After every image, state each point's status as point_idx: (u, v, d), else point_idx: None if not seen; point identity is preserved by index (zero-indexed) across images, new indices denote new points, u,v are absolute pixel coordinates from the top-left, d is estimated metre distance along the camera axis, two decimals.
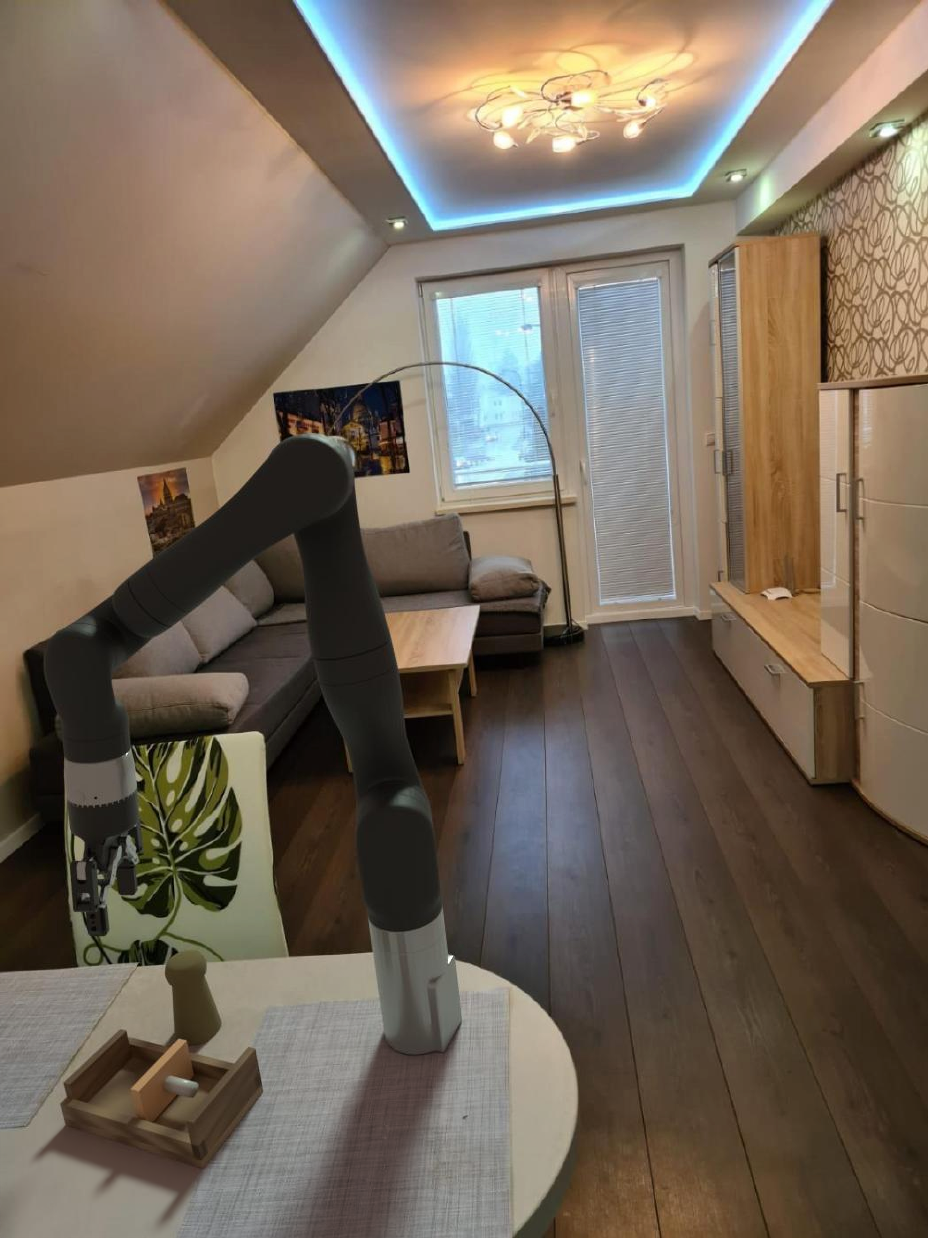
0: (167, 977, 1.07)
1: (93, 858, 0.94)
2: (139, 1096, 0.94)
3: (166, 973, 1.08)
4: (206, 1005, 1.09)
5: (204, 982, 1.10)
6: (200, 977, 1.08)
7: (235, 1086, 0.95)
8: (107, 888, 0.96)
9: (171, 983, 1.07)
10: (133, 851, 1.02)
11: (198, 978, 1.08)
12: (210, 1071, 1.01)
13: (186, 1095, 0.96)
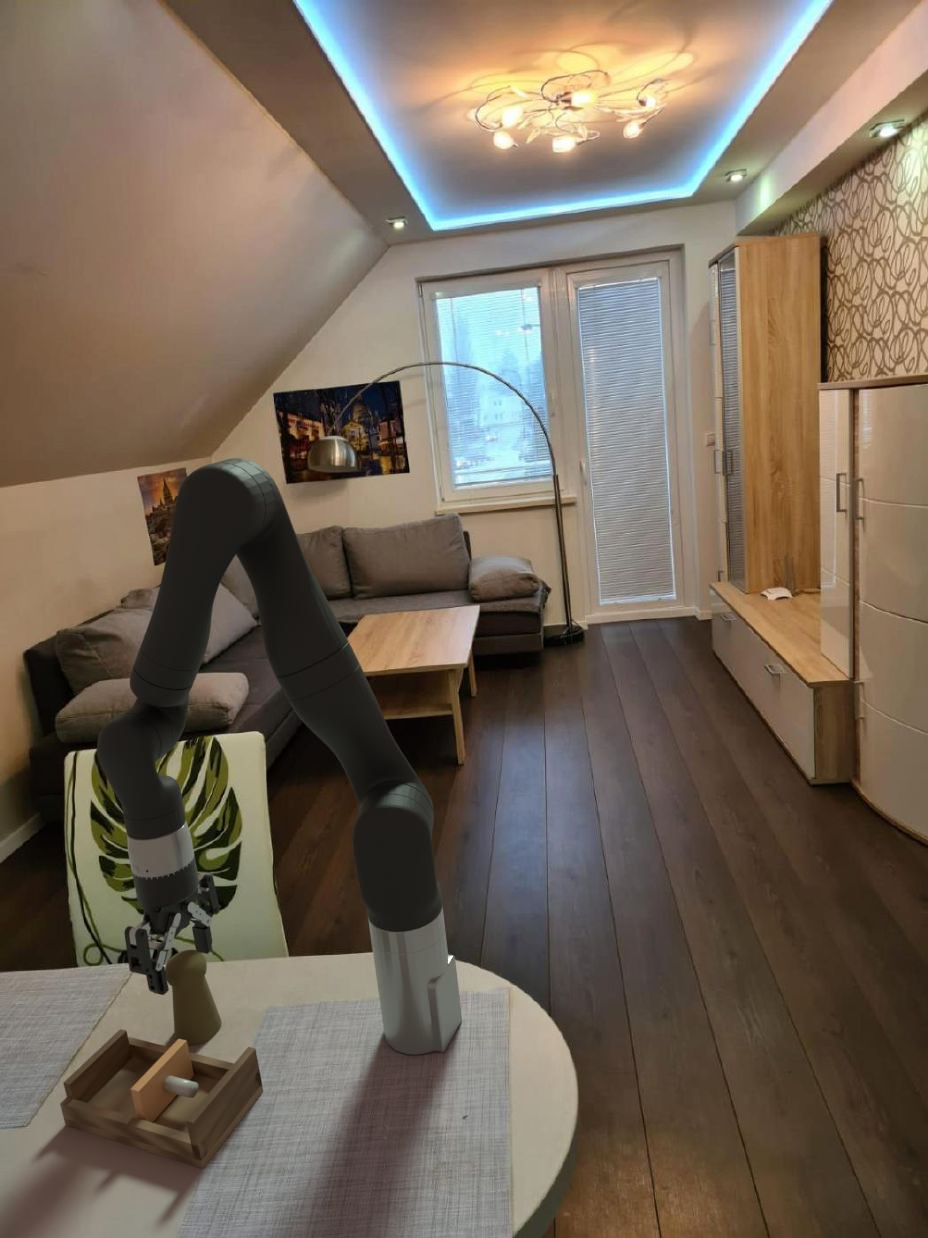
0: (167, 977, 1.07)
1: (147, 925, 1.03)
2: (139, 1096, 0.94)
3: (166, 973, 1.08)
4: (206, 1005, 1.09)
5: (204, 982, 1.10)
6: (200, 977, 1.08)
7: (235, 1086, 0.95)
8: (164, 952, 1.04)
9: (171, 983, 1.07)
10: (201, 915, 1.10)
11: (198, 978, 1.08)
12: (210, 1071, 1.01)
13: (186, 1095, 0.96)
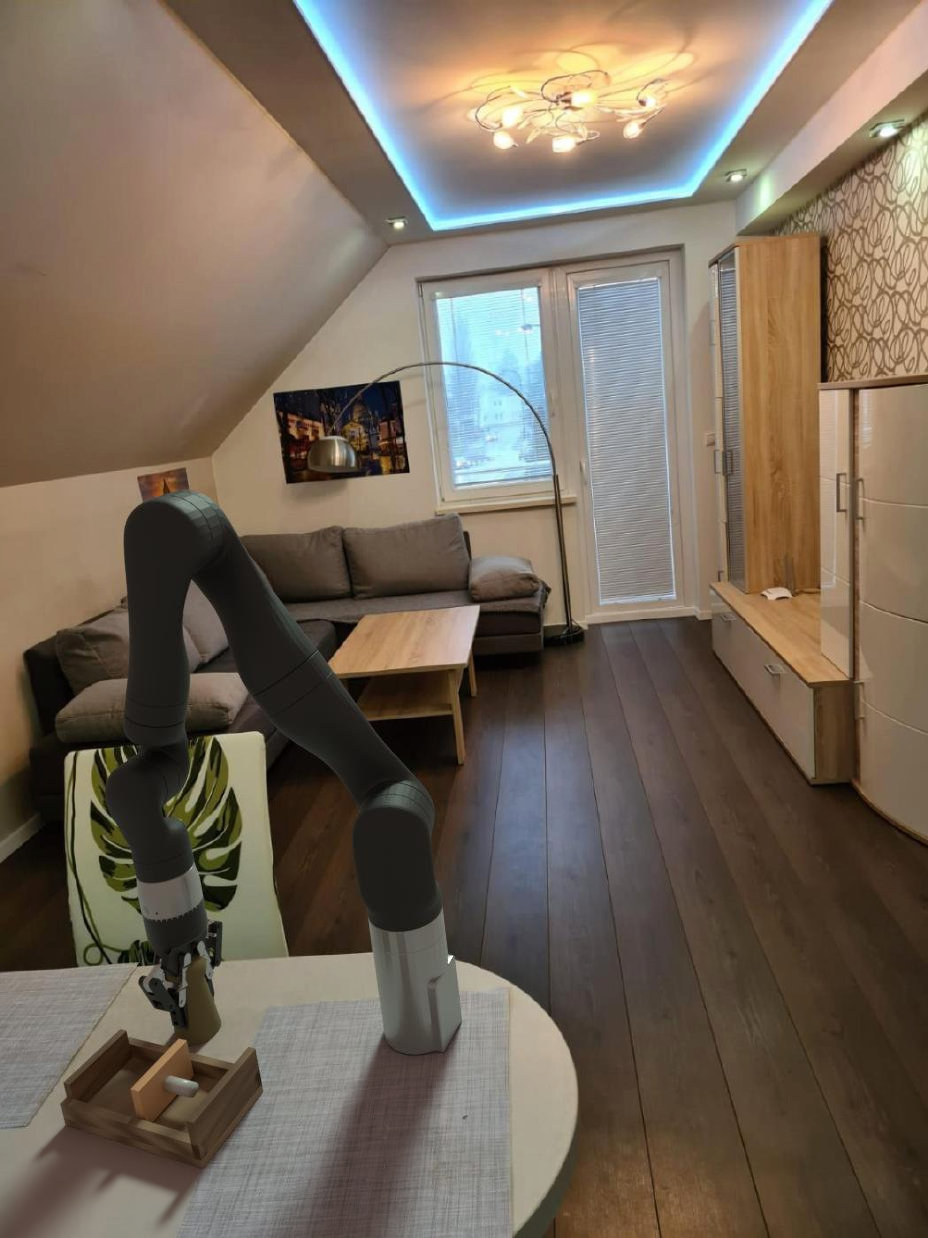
0: (167, 977, 1.07)
1: (159, 971, 1.04)
2: (139, 1096, 0.94)
3: None
4: (206, 1005, 1.09)
5: (204, 982, 1.10)
6: (200, 977, 1.08)
7: (235, 1086, 0.95)
8: (183, 989, 1.07)
9: None
10: (206, 961, 1.10)
11: (198, 978, 1.08)
12: (210, 1071, 1.01)
13: (186, 1095, 0.96)
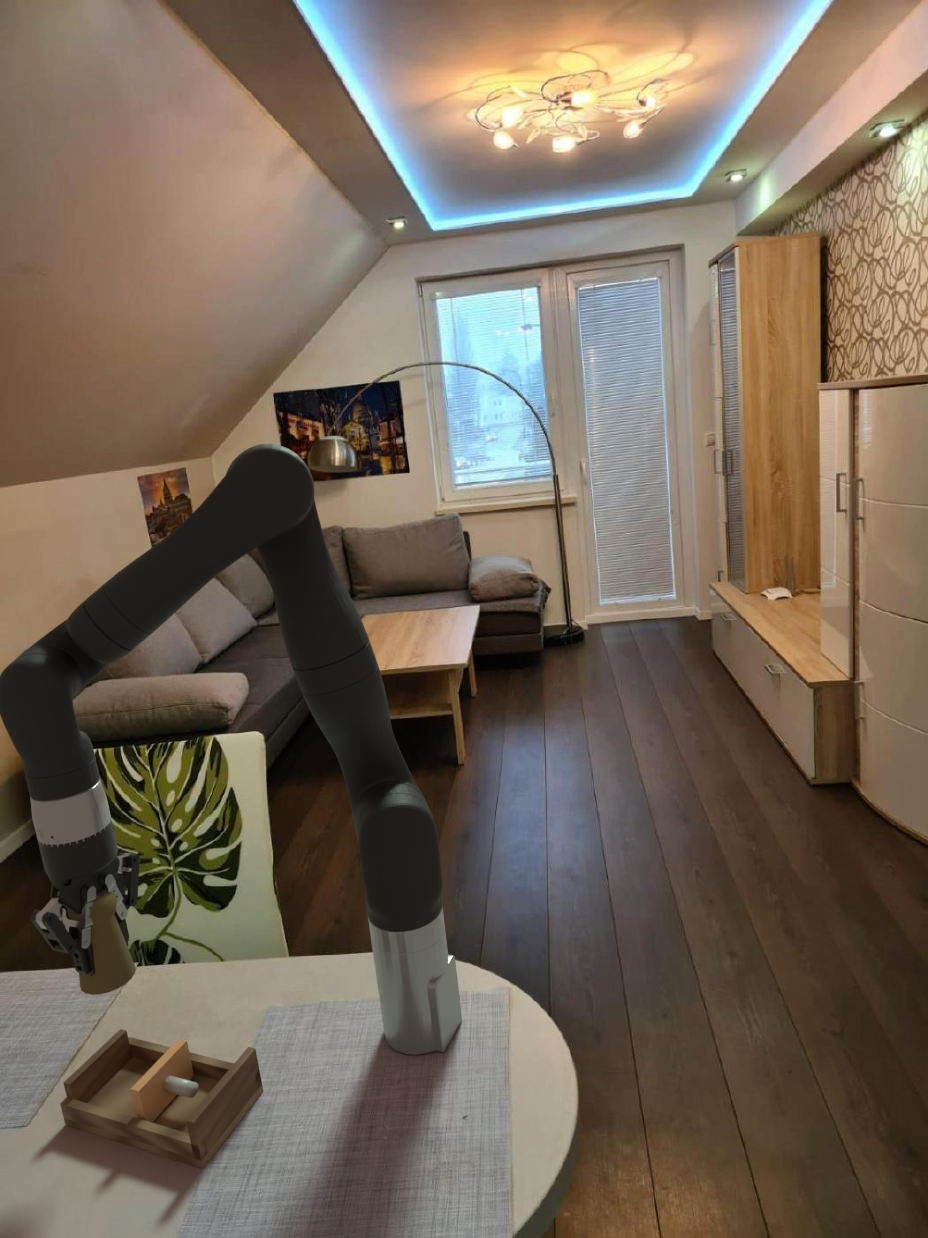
0: (68, 914, 0.93)
1: (55, 905, 0.90)
2: (139, 1096, 0.94)
3: None
4: (115, 948, 0.95)
5: (113, 922, 0.95)
6: (107, 915, 0.93)
7: (235, 1086, 0.95)
8: (87, 928, 0.92)
9: None
10: (117, 898, 0.96)
11: (105, 916, 0.93)
12: (210, 1071, 1.01)
13: (186, 1095, 0.96)
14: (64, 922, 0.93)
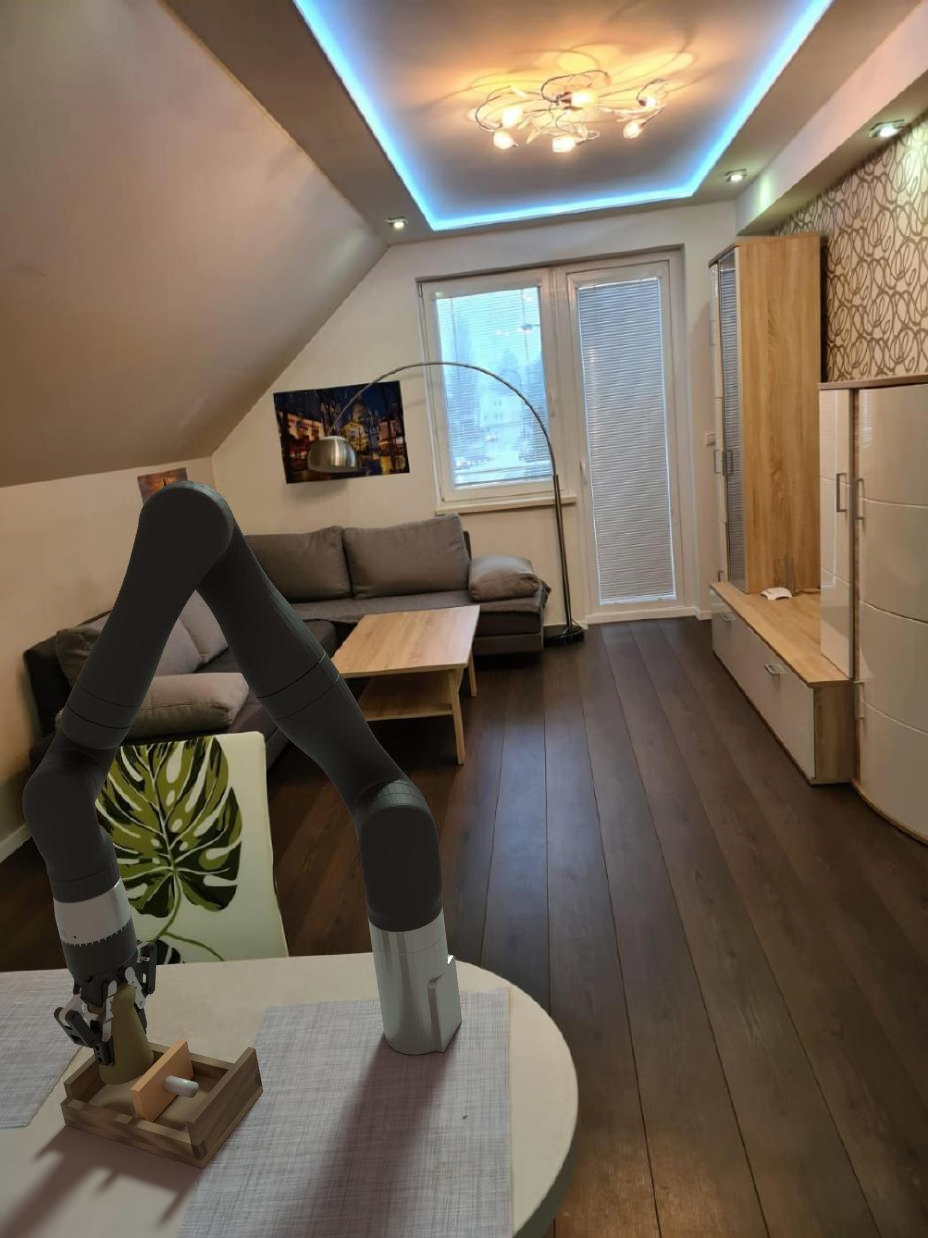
0: (89, 1008, 0.95)
1: (78, 1002, 0.92)
2: (139, 1096, 0.94)
3: None
4: (134, 1039, 0.97)
5: (132, 1013, 0.98)
6: (127, 1007, 0.96)
7: (235, 1086, 0.95)
8: (108, 1021, 0.95)
9: None
10: (136, 989, 0.98)
11: (125, 1009, 0.96)
12: (210, 1071, 1.01)
13: (186, 1095, 0.96)
14: (85, 1015, 0.95)
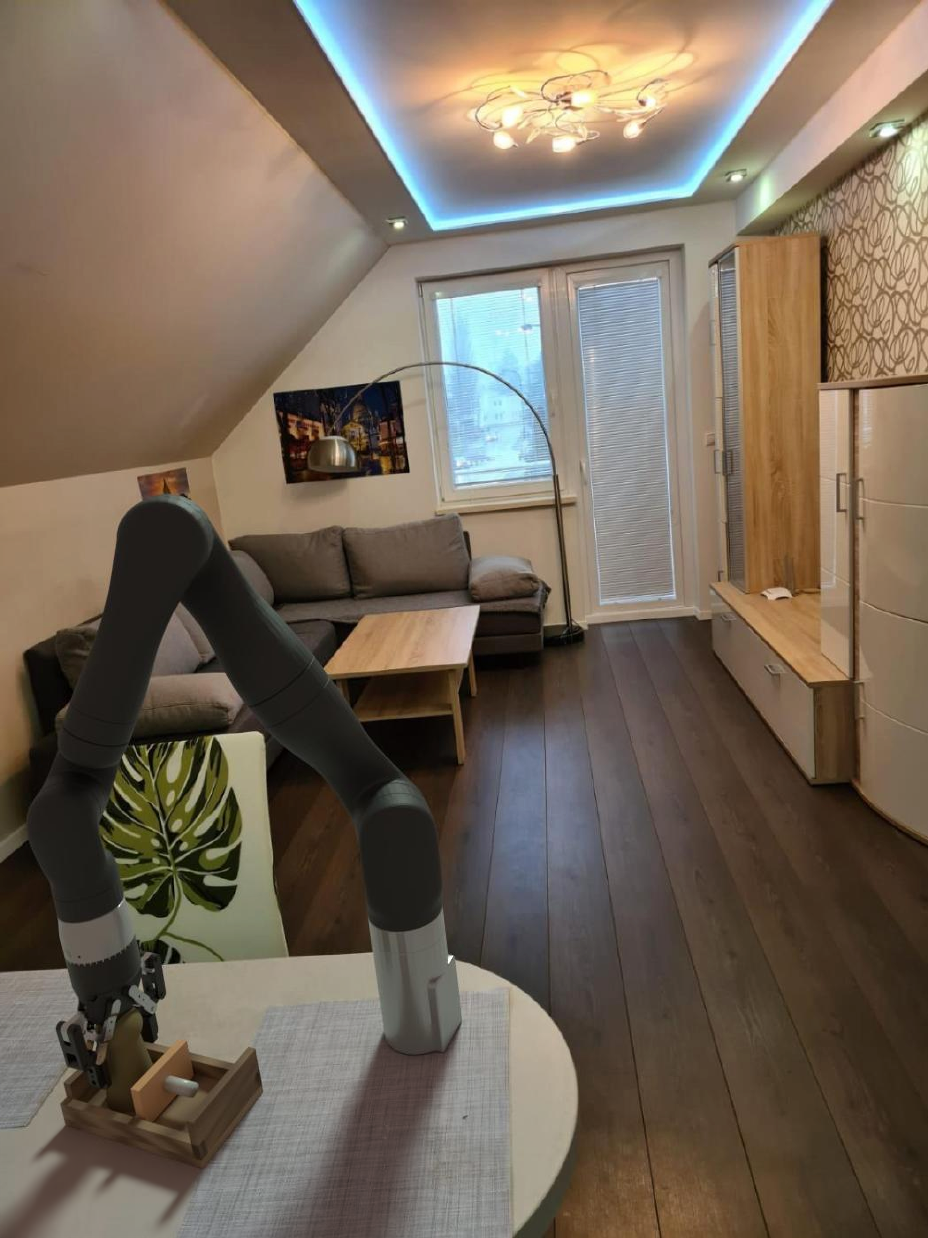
0: None
1: (81, 1018, 0.93)
2: (139, 1096, 0.94)
3: None
4: (141, 1068, 0.98)
5: (139, 1042, 0.98)
6: (134, 1037, 0.97)
7: (235, 1086, 0.95)
8: (104, 1043, 0.95)
9: None
10: (144, 1001, 1.00)
11: (132, 1039, 0.97)
12: (210, 1071, 1.01)
13: (186, 1095, 0.96)
14: (83, 1035, 0.95)
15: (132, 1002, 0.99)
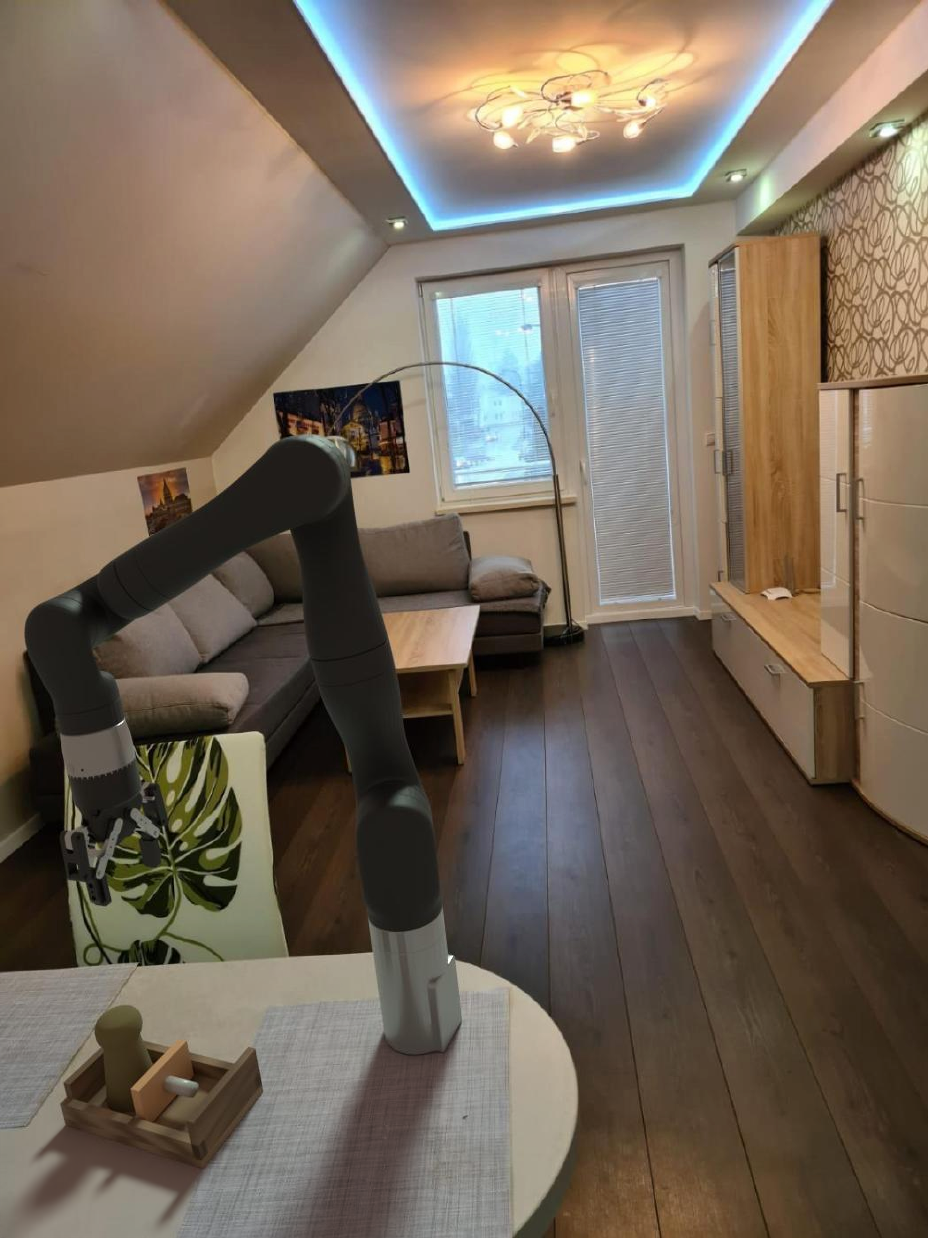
0: (96, 1037, 0.96)
1: (85, 829, 0.95)
2: (139, 1096, 0.94)
3: (95, 1032, 0.96)
4: (141, 1068, 0.98)
5: (139, 1042, 0.98)
6: (133, 1037, 0.97)
7: (235, 1086, 0.95)
8: (105, 859, 0.97)
9: (100, 1044, 0.96)
10: (146, 824, 1.02)
11: (132, 1039, 0.97)
12: (210, 1071, 1.01)
13: (186, 1095, 0.96)
14: None
15: (135, 825, 1.01)
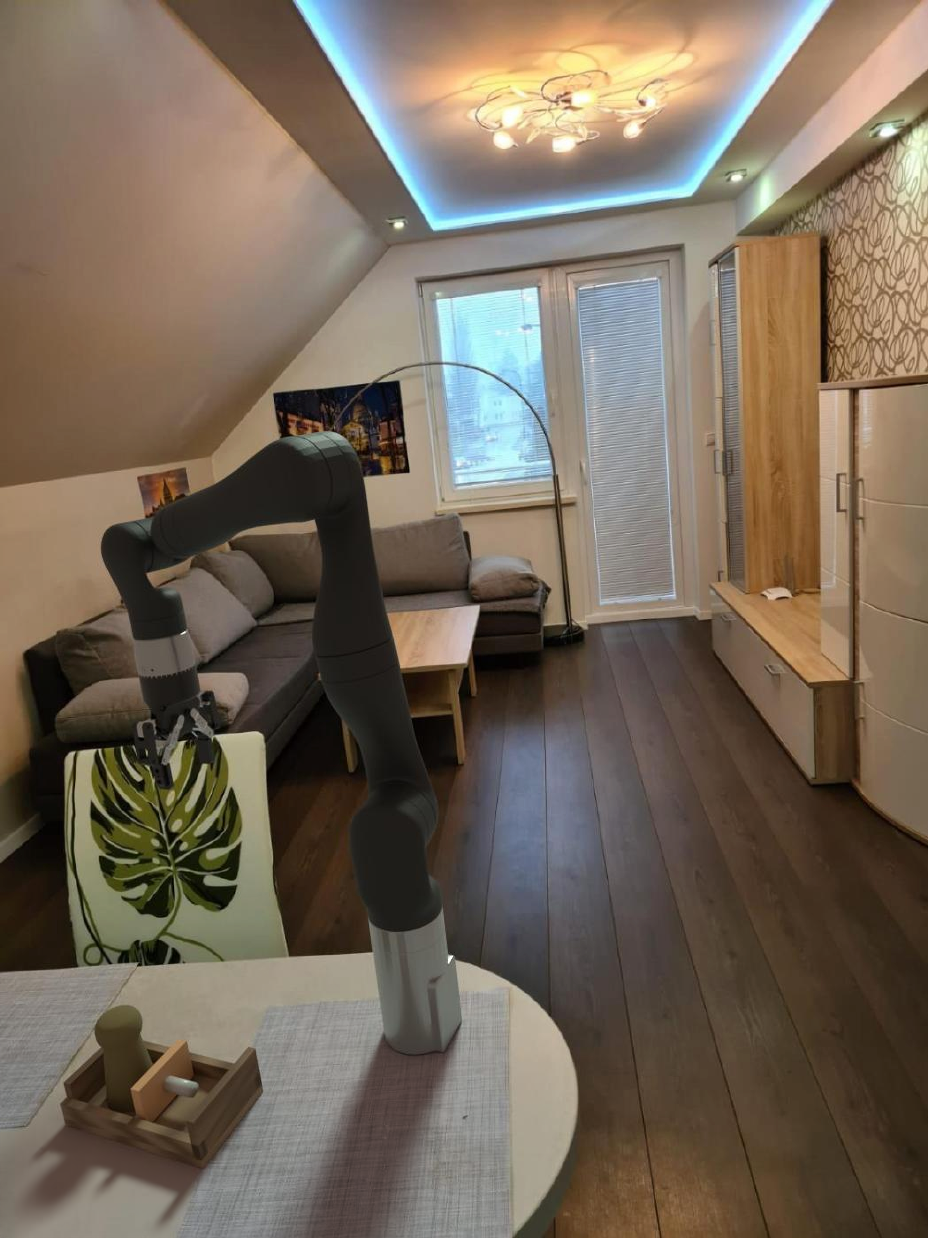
0: (96, 1037, 0.96)
1: (153, 721, 1.11)
2: (139, 1096, 0.94)
3: (95, 1032, 0.96)
4: (141, 1068, 0.98)
5: (139, 1042, 0.98)
6: (133, 1037, 0.97)
7: (235, 1086, 0.95)
8: (169, 749, 1.13)
9: (100, 1044, 0.96)
10: (203, 724, 1.19)
11: (132, 1039, 0.97)
12: (210, 1071, 1.01)
13: (186, 1095, 0.96)
14: None
15: (193, 724, 1.18)
